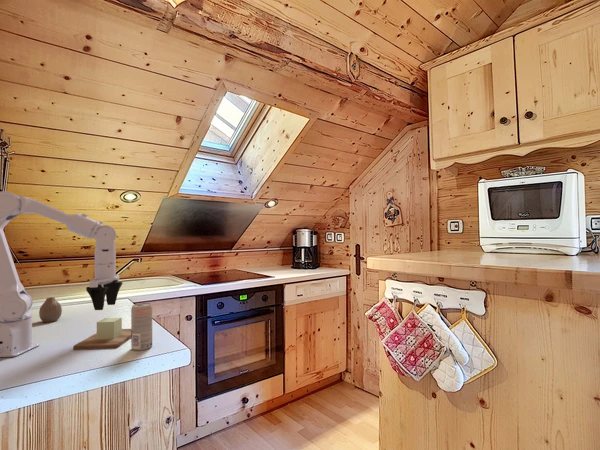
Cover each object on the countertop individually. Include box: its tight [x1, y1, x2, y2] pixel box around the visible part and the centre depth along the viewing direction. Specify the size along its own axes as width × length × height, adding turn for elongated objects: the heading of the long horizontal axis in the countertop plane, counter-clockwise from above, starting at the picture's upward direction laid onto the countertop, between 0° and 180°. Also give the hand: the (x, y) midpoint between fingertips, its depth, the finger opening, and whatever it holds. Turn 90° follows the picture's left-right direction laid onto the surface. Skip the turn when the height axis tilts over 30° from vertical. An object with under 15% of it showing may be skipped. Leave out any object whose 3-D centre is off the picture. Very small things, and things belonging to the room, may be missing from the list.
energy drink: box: [130, 302, 153, 352], centre depth 95 cm, size 5×5×12 cm
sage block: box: [96, 317, 123, 339], centre depth 103 cm, size 5×5×5 cm
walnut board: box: [72, 328, 131, 350], centre depth 103 cm, size 16×12×1 cm
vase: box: [38, 296, 63, 323], centre depth 127 cm, size 7×7×9 cm
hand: (105, 307), depth 106 cm, fingers open, 7 cm apart
